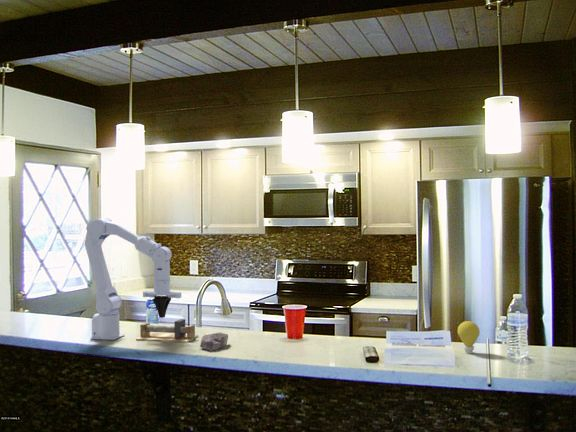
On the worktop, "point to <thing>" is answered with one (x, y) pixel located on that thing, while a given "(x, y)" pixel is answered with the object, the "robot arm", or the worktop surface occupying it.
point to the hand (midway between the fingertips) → (162, 317)
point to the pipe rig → (148, 336)
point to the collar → (177, 328)
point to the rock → (214, 341)
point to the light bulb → (468, 335)
